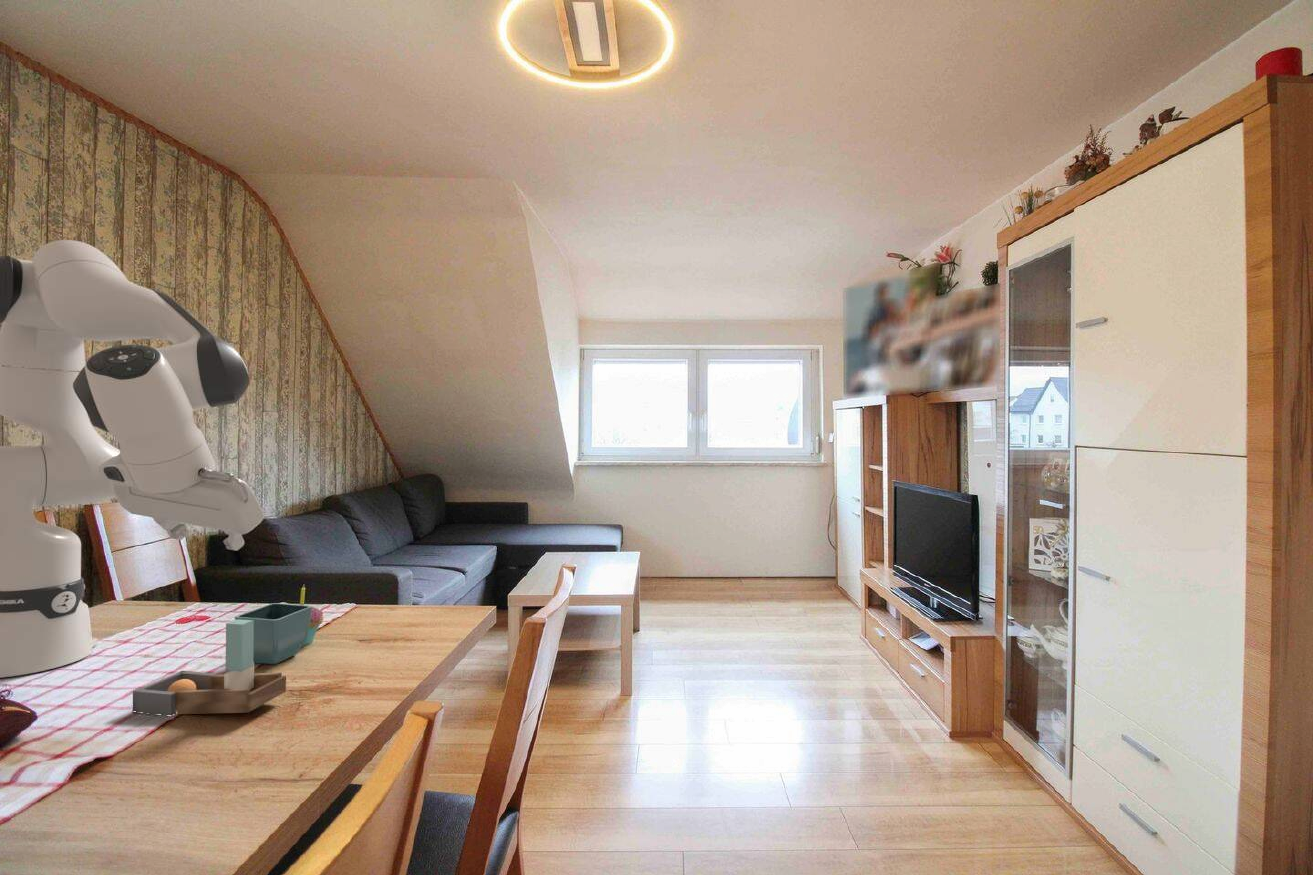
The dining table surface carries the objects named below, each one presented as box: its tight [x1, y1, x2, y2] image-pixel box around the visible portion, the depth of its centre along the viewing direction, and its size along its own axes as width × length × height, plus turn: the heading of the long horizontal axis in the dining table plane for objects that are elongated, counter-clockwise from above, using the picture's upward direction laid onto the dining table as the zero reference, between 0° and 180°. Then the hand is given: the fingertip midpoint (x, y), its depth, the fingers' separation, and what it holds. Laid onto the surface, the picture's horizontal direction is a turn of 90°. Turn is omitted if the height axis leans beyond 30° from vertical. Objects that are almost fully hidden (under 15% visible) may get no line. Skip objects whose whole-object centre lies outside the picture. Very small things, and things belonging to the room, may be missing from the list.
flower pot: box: [234, 602, 313, 665], centre depth 107 cm, size 9×9×9 cm
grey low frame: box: [132, 670, 219, 716], centre depth 89 cm, size 7×8×3 cm
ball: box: [167, 679, 196, 692], centre depth 89 cm, size 4×4×4 cm
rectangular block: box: [223, 619, 255, 689], centre depth 87 cm, size 3×4×11 cm, turn 171°
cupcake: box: [299, 584, 324, 647], centre depth 115 cm, size 9×8×12 cm
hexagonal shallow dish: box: [175, 672, 287, 715], centre depth 88 cm, size 13×6×4 cm, turn 81°
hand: (208, 541), depth 86 cm, fingers open, 8 cm apart
